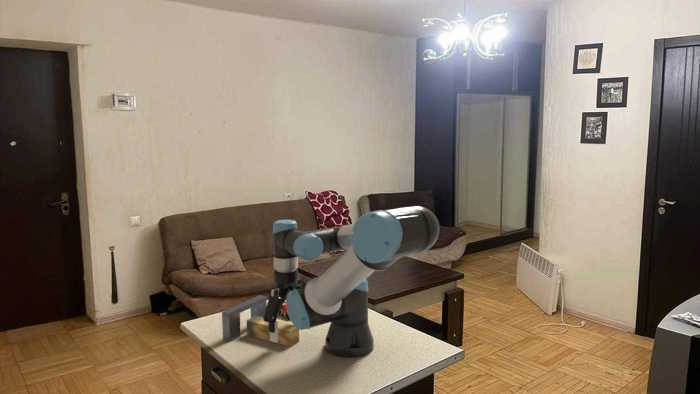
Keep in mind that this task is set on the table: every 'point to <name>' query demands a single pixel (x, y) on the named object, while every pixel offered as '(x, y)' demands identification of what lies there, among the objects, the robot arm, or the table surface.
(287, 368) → the table surface
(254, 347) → the table surface
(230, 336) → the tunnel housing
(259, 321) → the tan long block
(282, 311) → the race car
